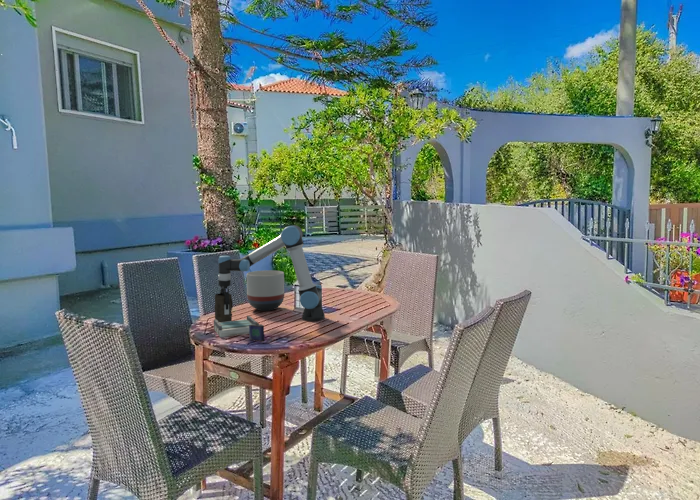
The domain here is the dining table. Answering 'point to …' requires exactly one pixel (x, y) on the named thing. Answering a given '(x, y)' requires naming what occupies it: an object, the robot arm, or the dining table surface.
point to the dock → (233, 327)
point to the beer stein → (222, 308)
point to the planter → (265, 289)
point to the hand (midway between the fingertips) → (224, 312)
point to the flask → (256, 332)
